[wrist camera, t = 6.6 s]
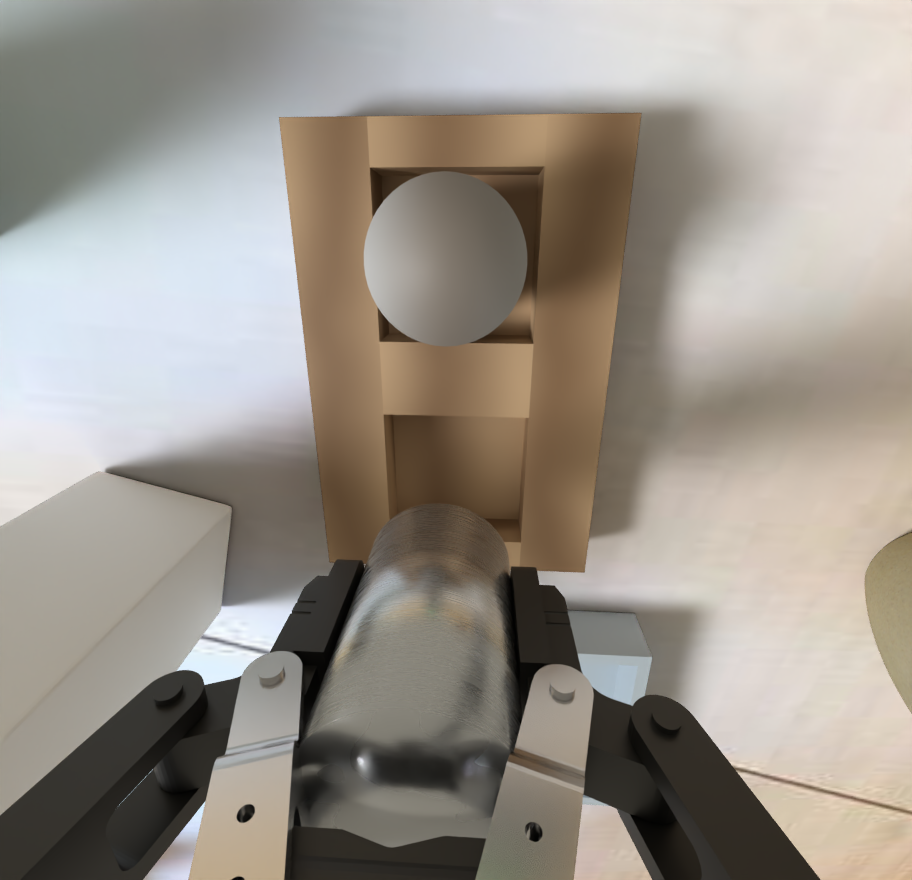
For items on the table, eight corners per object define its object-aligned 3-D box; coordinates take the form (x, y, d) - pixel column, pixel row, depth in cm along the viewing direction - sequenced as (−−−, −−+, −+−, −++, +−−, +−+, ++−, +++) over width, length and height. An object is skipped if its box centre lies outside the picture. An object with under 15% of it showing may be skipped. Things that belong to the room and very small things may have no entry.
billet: (512, 506, 14) (537, 717, 8) (506, 621, 16) (521, 877, 9) (367, 501, 15) (274, 704, 8) (375, 616, 16) (302, 861, 10)
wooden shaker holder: (621, 130, 18) (707, 54, 11) (575, 541, 24) (610, 658, 18) (305, 134, 18) (195, 63, 12) (344, 533, 25) (289, 642, 18)
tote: (634, 613, 26) (652, 657, 23) (609, 755, 30) (622, 806, 27) (357, 601, 27) (342, 642, 24) (370, 740, 31) (358, 789, 28)
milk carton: (99, 468, 25) (-882, 1021, 7) (235, 504, 25) (-374, 1121, 7) (100, 576, 27) (-608, 1177, 10) (223, 608, 28) (-244, 1244, 10)
